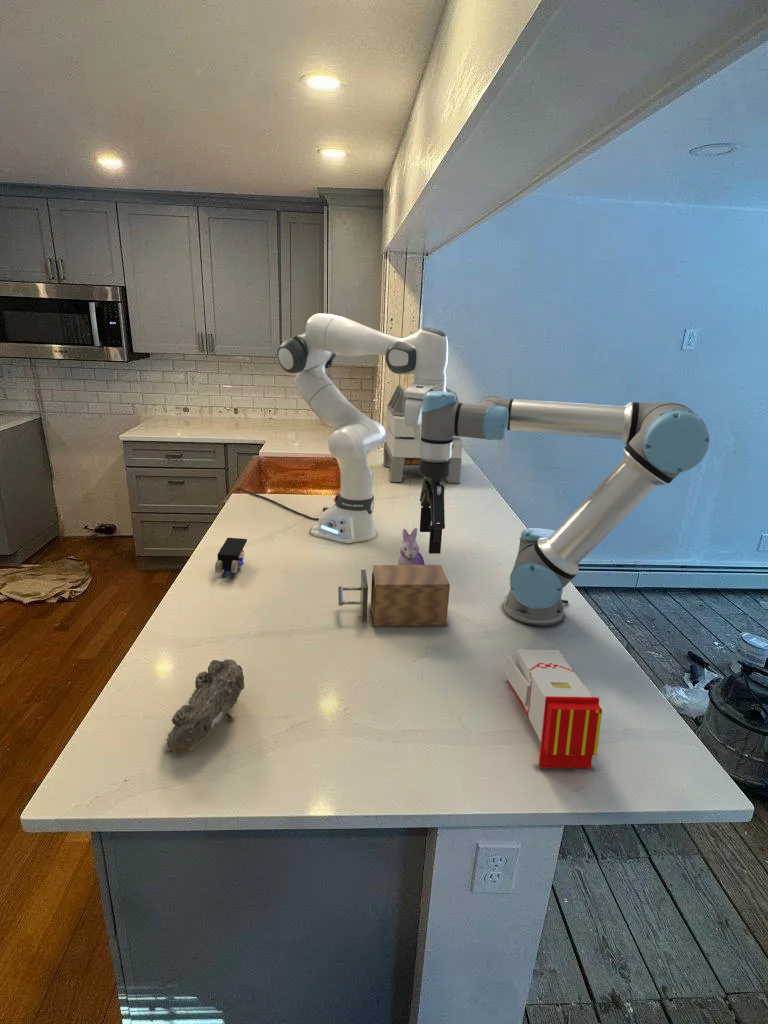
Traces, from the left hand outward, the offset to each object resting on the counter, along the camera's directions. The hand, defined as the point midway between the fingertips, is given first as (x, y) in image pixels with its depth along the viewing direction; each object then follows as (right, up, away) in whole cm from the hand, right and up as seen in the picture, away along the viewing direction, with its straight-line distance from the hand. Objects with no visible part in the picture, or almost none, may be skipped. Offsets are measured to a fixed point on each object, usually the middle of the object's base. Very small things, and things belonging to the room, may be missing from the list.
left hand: (426, 438), depth 163 cm
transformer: (+5, -2, +112) cm, 112 cm away
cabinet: (-6, -48, -15) cm, 51 cm away
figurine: (-4, -41, +5) cm, 41 cm away
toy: (+19, -62, -51) cm, 82 cm away
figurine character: (-57, -38, +5) cm, 69 cm away
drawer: (-13, -47, -16) cm, 51 cm away
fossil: (-45, -60, -55) cm, 93 cm away
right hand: (-1, -29, -23) cm, 36 cm away
